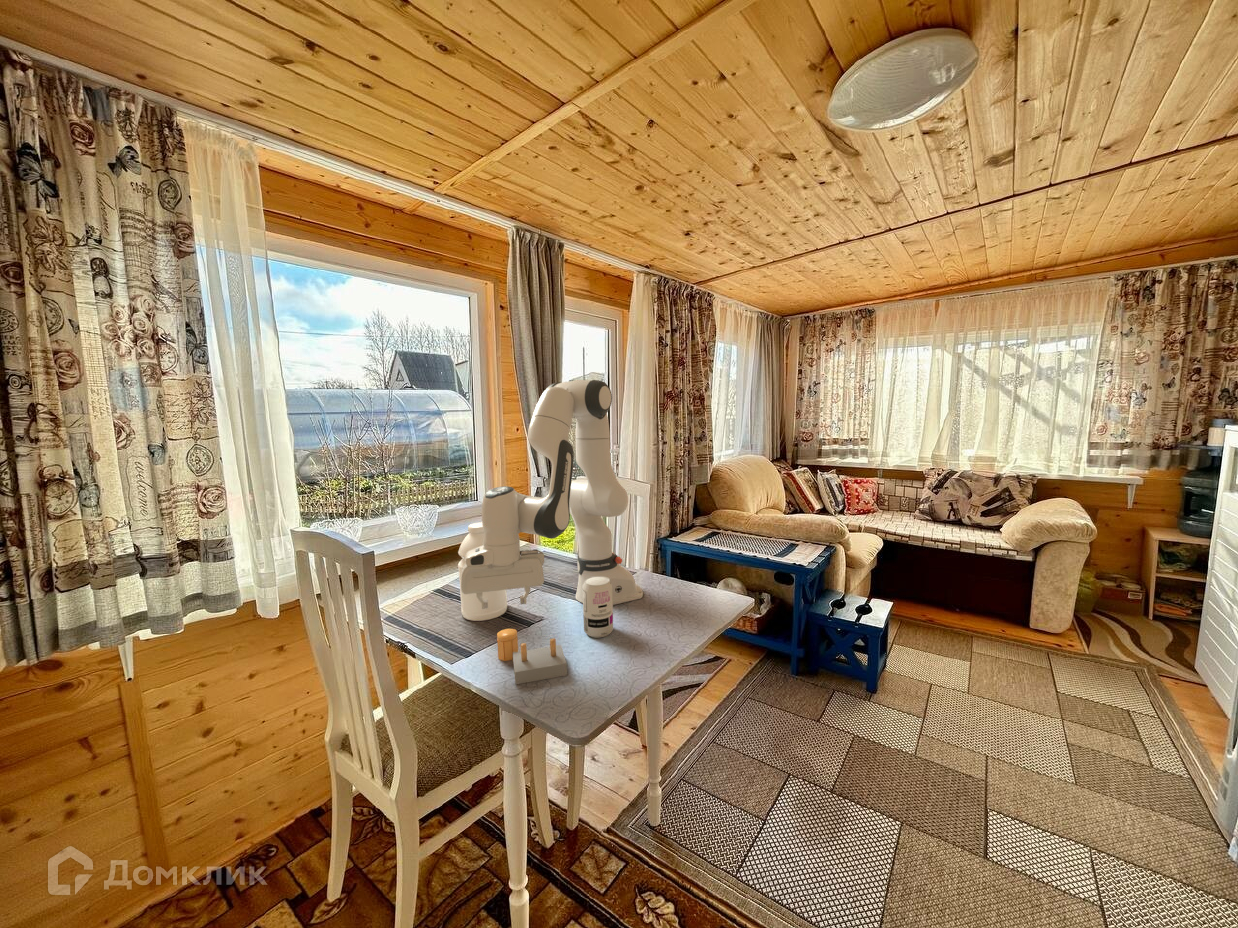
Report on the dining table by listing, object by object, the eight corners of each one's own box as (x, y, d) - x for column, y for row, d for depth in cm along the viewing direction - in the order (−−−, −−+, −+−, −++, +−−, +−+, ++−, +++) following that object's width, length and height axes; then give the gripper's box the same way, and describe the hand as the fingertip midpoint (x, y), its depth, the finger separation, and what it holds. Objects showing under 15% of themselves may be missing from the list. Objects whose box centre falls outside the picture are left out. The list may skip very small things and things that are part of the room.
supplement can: (597, 622, 136) (595, 573, 134) (619, 630, 131) (617, 579, 129) (578, 633, 130) (576, 581, 128) (600, 641, 124) (598, 588, 123)
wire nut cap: (517, 649, 122) (516, 627, 121) (518, 658, 117) (517, 636, 116) (498, 652, 120) (496, 630, 120) (498, 662, 116) (497, 639, 115)
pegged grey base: (561, 655, 118) (560, 629, 117) (567, 675, 109) (565, 647, 108) (513, 664, 115) (511, 637, 114) (515, 684, 106) (513, 656, 105)
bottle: (495, 623, 137) (489, 531, 133) (452, 620, 139) (446, 530, 136) (514, 603, 150) (510, 519, 147) (476, 601, 153) (470, 518, 150)
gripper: (542, 545, 121) (544, 596, 123) (460, 552, 116) (463, 605, 117) (545, 552, 115) (547, 605, 117) (458, 560, 110) (461, 616, 111)
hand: (504, 605), depth 117 cm, fingers open, 8 cm apart
